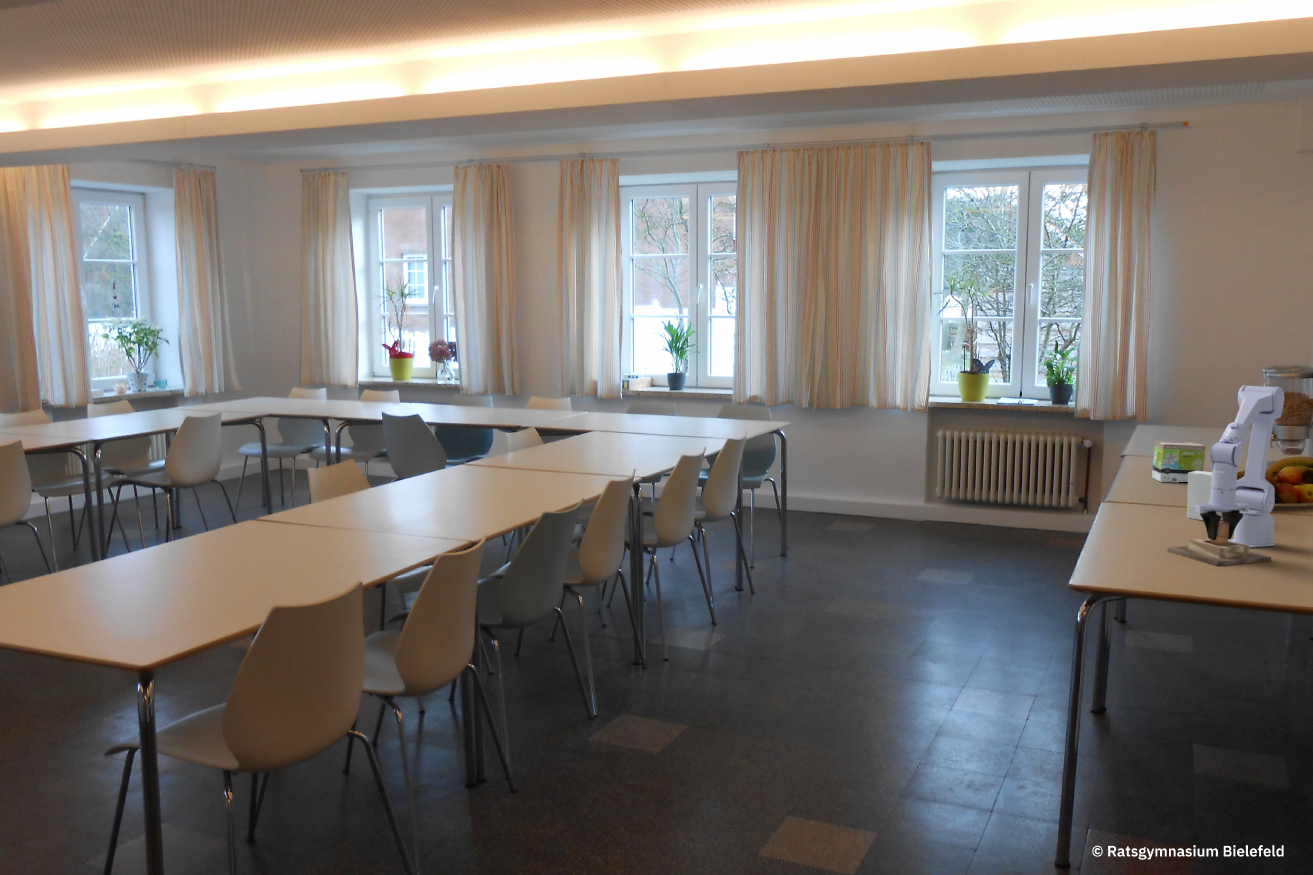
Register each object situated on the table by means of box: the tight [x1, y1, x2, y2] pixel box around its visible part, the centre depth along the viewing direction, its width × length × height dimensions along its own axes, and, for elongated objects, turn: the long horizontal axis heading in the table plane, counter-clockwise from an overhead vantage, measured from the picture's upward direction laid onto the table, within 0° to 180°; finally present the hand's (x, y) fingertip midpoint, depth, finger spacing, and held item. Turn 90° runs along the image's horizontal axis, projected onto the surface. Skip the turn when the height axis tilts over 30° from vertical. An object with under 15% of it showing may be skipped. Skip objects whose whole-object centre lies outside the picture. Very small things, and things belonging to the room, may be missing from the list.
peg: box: [1210, 520, 1229, 546], centre depth 264 cm, size 4×4×7 cm
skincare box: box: [1186, 470, 1223, 521], centre depth 310 cm, size 8×6×15 cm
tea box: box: [1151, 440, 1206, 483], centre depth 378 cm, size 15×10×15 cm
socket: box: [1167, 538, 1272, 567], centre depth 265 cm, size 18×16×4 cm
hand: (1219, 538), depth 264 cm, fingers closed on peg, 4 cm apart
